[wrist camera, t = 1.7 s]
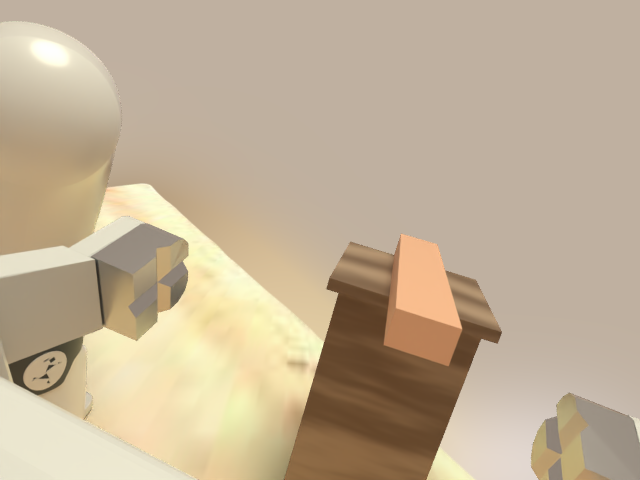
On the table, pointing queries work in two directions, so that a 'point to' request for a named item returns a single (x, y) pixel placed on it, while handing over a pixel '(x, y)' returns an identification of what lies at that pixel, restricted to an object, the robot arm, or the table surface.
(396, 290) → the terracotta block
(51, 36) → the robot arm
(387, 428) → the walnut stand
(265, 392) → the table surface
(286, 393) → the table surface
